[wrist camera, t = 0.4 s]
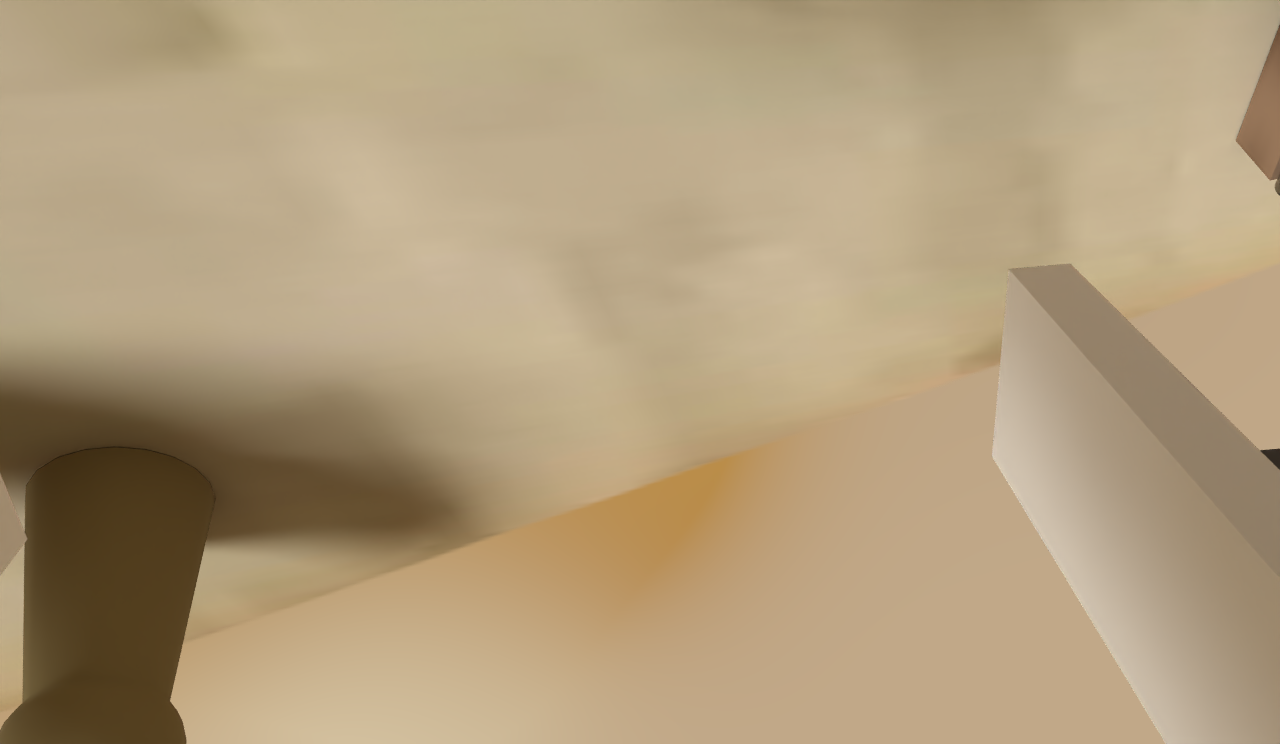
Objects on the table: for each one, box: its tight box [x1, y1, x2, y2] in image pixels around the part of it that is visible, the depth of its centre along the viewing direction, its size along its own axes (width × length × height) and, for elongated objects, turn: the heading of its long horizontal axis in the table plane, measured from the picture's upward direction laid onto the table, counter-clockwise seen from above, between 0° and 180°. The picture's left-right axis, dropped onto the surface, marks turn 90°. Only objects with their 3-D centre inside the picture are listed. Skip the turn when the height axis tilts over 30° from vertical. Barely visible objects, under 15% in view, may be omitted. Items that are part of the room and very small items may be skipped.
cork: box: [0, 447, 215, 744], centre depth 35 cm, size 6×6×11 cm
